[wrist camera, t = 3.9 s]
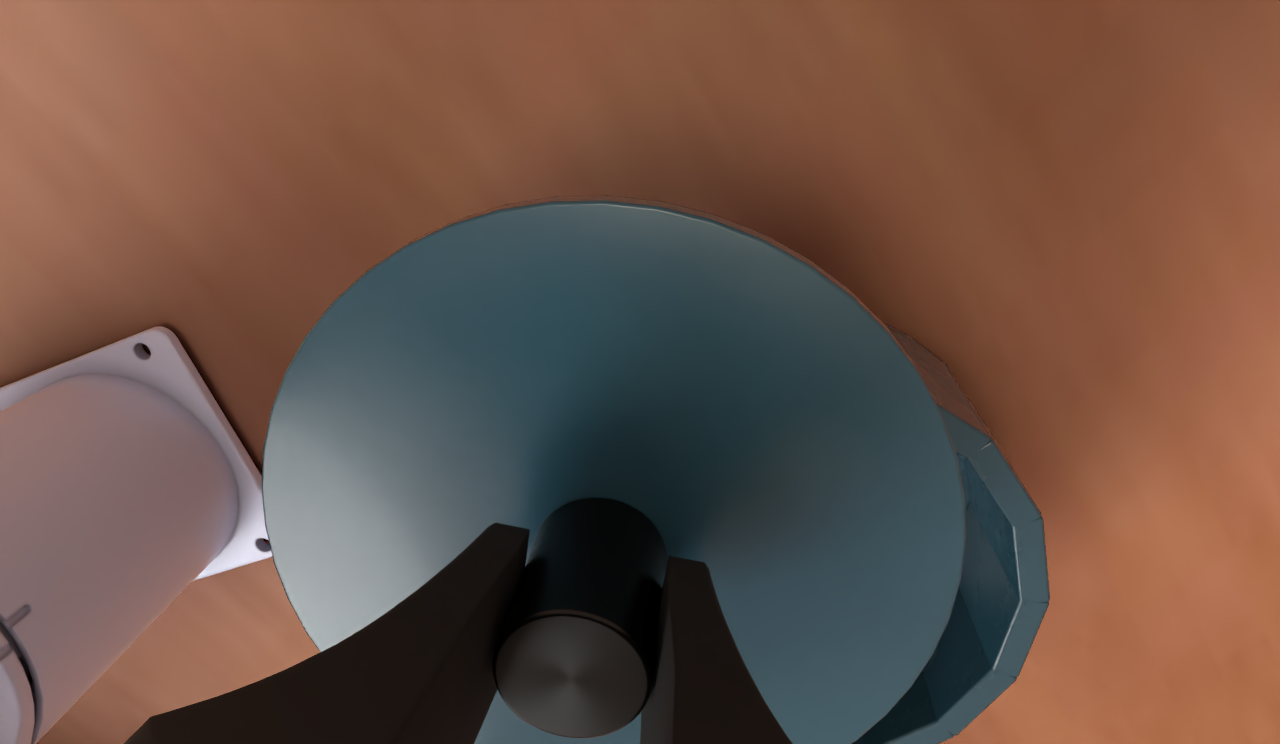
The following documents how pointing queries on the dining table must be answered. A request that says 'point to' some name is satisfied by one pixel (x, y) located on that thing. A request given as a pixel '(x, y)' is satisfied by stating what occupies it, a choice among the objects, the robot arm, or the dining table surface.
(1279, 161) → the dining table surface
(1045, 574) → the tin
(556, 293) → the tin lid
